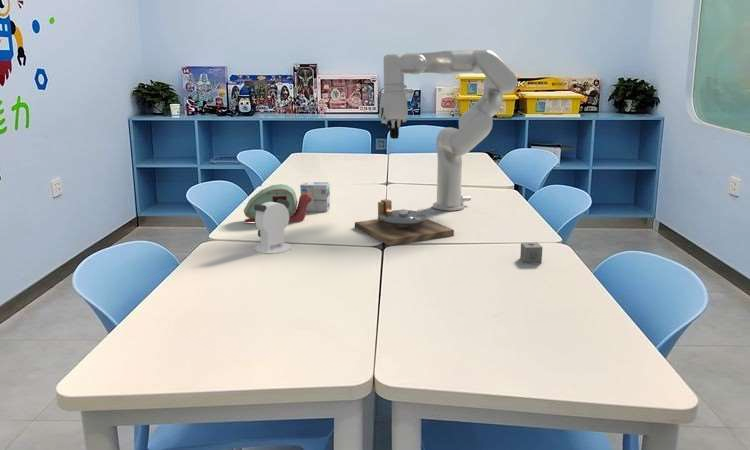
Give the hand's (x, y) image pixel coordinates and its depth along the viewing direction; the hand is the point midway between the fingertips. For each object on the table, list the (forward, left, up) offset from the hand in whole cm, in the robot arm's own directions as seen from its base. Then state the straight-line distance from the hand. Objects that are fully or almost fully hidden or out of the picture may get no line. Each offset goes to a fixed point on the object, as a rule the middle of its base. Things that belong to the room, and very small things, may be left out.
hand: (394, 138), depth 245 cm
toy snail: (+45, -8, -29) cm, 54 cm away
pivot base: (+12, +27, -29) cm, 41 cm away
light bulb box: (+26, -17, -29) cm, 42 cm away
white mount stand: (+58, +24, -29) cm, 68 cm away
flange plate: (+12, +25, -24) cm, 37 cm away
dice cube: (-6, +72, -29) cm, 78 cm away
